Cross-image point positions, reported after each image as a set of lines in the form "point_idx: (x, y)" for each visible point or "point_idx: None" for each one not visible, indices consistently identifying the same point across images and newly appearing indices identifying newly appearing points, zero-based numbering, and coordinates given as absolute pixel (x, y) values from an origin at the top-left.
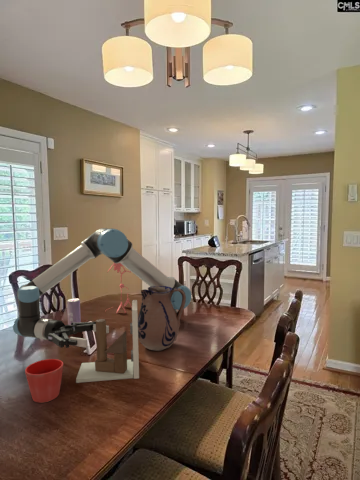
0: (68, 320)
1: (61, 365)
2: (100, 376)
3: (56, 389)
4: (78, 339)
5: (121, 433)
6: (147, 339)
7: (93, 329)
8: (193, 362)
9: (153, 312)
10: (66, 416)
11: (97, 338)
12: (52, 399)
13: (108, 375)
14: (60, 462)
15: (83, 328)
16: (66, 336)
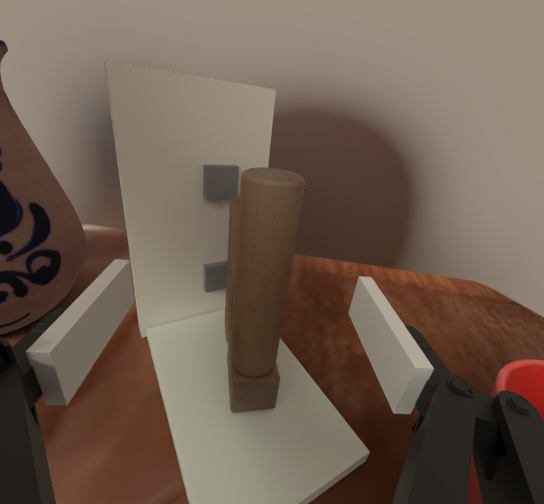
0: None
1: (514, 365)
2: (298, 371)
3: None
4: (391, 311)
5: (407, 279)
6: (69, 268)
7: (65, 387)
8: None
9: (28, 151)
10: (478, 369)
11: (290, 272)
12: None
13: (281, 352)
14: (521, 316)
15: (44, 491)
16: (444, 423)
